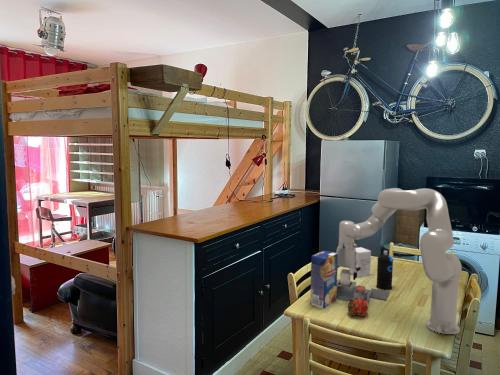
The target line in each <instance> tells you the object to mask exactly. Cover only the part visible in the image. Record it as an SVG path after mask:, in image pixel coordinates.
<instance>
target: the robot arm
mask: <svg viewBox="0 0 500 375" xmlns="http://www.w3.org/2000/svg"><path fill="white" fill-rule="evenodd" d="M377 195H378V196H377V201H376V203H374V205H373V206H372V207H371V213H372V215H371V216H369V217H368V218H367V220H365V221H363V222H359V223H355V222H354V221H351V220H341V221H340V222H339V228H338V246H337V248H336V252H335V253H338V261H337V267H342V268H345V269H346V268H348V269H349V268H352V269H353V270H354V273H353V274H352V276H353V280H354V281H355V280H356V279H357V278H358V277H357V272H358V271H359V270H360V269H361V268H362V266H363V264H362V263H361V262H359V261H358V260H356V249H355V248H358V244H357V243H355V240H362V239H364V238H369V237H372V236H373V235H375V233H376V232H378V231H379V230H380V229H382V227H383V226H384V224H385V223H386V221H387V220H388V219H389V218H390V217H392V215H393V214H394V213H395V212H397V210H398V211H409V212H410V211H411V212H412V211H413V212H414V211H419V210H424V209H426V224H427V228H428V231H426V232H424V233H423V234H422V235H421V237H420V240H419V250H420V255H421V260H422V261H421V262H422V267H423V271H424V274H425V275H426V277H427V279H429V280H430V281H431V282H432V288H431V302H430V316H429V317H430V318H428V319H427V320H426V321H425V326H426V327H427V328H428V329H429V330H430V331H432V332H434V331H435V332H434V333H437V332H438V333H437V334H440V333H443V334H442V335H444V334H454V335H458V334H459V333H460V329H461V328H460V327H459V325H458V324H456V323H457V311H458V310H457V309H458V298H459V287H460V286H459V285H460V279H461V275H462V268H463V267H462V264H461V261H460V259H459V258H458V257H457V256H456V255H454V254H452V253H446V251H448V250H450V249H452V247H454V242H455V241H454V240H455V239H454V235H453V230H452V224H451V219H450V215H449V208H448V204H447V201H446V198H445V197H444V196H443V195H442V193H440V192H439V191H437V190H435V189H432V188H425V187H424V188H418V189H410V190H406V189H405V190H403V189H401V188H400V187H399V188H398V187H391V188H385V189H383V190H382V191H380V192H379V194H377ZM356 263H357V264H358V265H359V267H358V268H357V267H356ZM454 335H453V336H454Z"/></svg>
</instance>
